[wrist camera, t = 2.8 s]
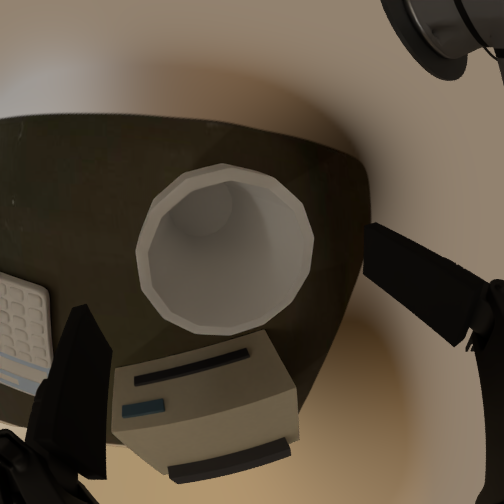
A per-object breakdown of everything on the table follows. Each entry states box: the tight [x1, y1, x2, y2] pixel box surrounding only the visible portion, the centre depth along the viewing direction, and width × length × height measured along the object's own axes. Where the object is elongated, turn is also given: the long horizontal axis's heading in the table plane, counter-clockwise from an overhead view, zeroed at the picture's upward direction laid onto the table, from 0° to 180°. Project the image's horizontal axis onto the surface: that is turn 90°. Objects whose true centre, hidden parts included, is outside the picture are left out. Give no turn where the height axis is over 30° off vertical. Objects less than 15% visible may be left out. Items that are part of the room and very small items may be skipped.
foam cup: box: [136, 163, 314, 335], centre depth 20 cm, size 10×9×13 cm
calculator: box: [0, 272, 54, 396], centre depth 23 cm, size 13×20×2 cm, turn 159°
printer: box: [112, 329, 299, 484], centre depth 29 cm, size 20×14×12 cm
